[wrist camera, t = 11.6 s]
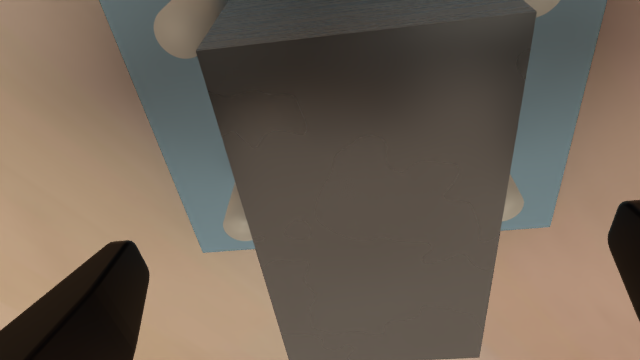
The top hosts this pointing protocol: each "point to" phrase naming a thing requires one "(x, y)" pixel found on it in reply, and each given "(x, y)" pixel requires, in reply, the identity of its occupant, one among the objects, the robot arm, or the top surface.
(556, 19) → the pin tray
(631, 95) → the top surface
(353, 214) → the block
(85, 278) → the robot arm
